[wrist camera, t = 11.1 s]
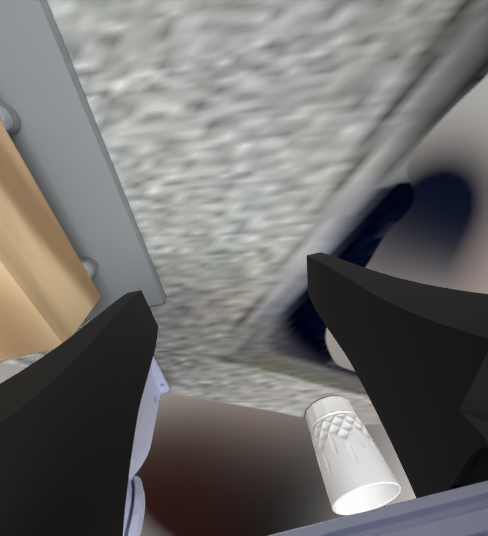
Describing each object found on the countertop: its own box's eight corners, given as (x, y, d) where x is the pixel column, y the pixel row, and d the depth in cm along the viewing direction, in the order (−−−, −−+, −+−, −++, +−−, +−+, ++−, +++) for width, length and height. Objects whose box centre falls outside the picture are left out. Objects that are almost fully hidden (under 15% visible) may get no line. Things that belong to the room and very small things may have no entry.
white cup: (352, 386, 33) (405, 475, 24) (352, 417, 36) (397, 503, 28) (298, 401, 33) (330, 495, 24) (303, 430, 36) (333, 521, 28)
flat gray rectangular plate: (166, 296, 22) (160, 317, 19) (48, 321, 22) (26, 346, 19) (44, -6, 12) (-1, -47, 10) (-172, 29, 12) (-279, -4, 9)
